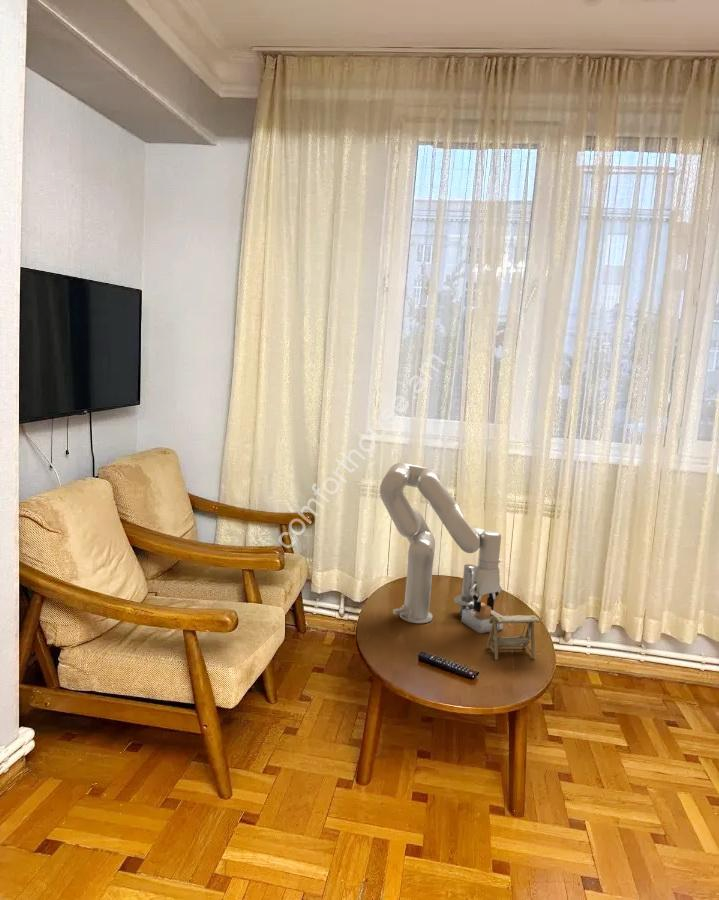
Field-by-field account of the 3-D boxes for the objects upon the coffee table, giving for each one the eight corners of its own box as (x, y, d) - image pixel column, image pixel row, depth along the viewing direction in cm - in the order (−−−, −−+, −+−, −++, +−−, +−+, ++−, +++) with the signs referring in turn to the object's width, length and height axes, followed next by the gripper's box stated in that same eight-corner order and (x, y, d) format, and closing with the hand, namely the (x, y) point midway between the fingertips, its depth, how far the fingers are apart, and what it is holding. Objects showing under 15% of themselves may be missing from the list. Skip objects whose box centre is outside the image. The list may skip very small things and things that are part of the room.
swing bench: (524, 647, 243) (529, 608, 240) (535, 660, 233) (540, 619, 231) (485, 648, 240) (489, 608, 238) (494, 660, 231) (499, 619, 228)
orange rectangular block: (482, 628, 256) (485, 608, 255) (474, 623, 260) (476, 603, 259) (488, 627, 257) (491, 607, 256) (480, 622, 262) (482, 602, 261)
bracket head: (479, 633, 252) (484, 581, 248) (446, 612, 269) (451, 563, 266) (502, 629, 257) (508, 578, 254) (469, 608, 275) (474, 561, 271)
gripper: (499, 558, 262) (494, 603, 265) (463, 562, 254) (458, 608, 257) (512, 564, 256) (507, 610, 259) (475, 569, 248) (471, 616, 251)
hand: (483, 609), depth 258 cm, fingers open, 5 cm apart
